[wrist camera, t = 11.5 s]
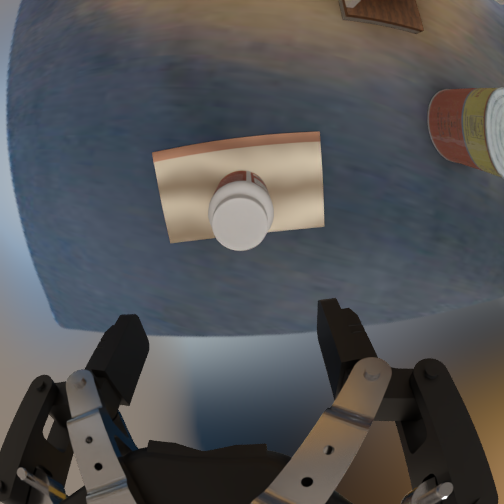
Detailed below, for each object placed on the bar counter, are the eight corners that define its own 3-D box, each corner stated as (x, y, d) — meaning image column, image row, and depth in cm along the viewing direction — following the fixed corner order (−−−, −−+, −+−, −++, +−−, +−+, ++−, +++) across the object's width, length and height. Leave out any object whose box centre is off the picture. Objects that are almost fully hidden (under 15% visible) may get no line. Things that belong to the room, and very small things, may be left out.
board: (153, 152, 31) (152, 152, 30) (318, 131, 30) (319, 131, 29) (171, 241, 36) (170, 243, 35) (322, 225, 35) (324, 226, 34)
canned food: (484, 123, 27) (537, 133, 16) (460, 176, 31) (514, 199, 20) (442, 74, 25) (499, 68, 14) (415, 130, 29) (474, 138, 18)
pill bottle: (212, 213, 33) (196, 251, 23) (221, 164, 31) (208, 181, 21) (261, 223, 34) (267, 265, 24) (273, 175, 32) (285, 198, 21)
